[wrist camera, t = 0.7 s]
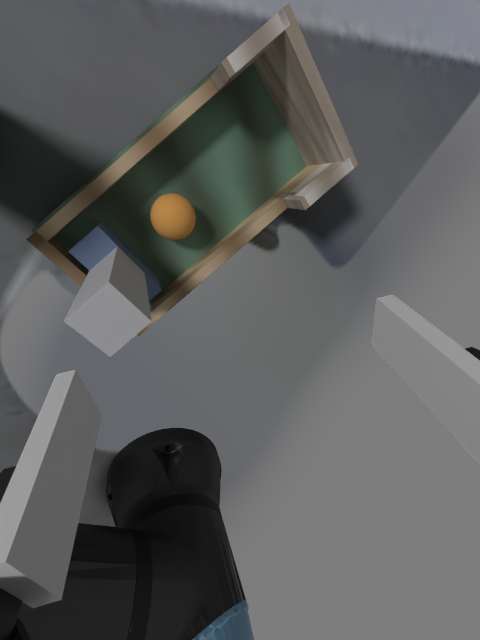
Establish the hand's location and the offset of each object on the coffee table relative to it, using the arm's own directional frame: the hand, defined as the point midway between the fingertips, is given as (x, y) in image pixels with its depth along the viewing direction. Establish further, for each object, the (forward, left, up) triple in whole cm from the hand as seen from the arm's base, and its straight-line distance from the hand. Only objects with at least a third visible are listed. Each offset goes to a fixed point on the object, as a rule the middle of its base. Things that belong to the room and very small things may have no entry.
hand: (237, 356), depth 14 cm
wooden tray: (+5, +4, -22) cm, 23 cm away
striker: (-4, +4, -20) cm, 21 cm away
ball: (+2, +4, -18) cm, 19 cm away
